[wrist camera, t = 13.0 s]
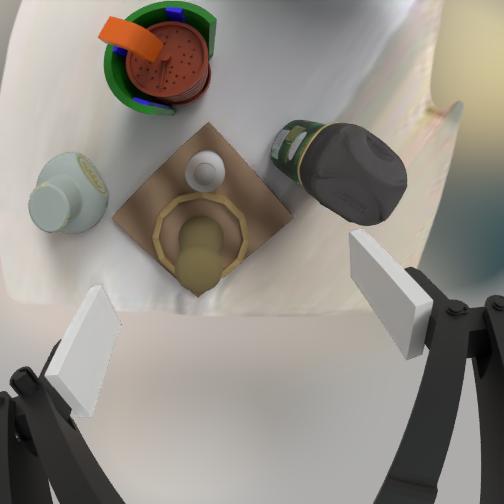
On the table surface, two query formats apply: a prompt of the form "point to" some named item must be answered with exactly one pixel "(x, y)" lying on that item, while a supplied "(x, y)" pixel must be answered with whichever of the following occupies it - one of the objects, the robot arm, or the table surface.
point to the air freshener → (68, 195)
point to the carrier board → (203, 202)
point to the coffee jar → (342, 168)
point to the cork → (199, 254)
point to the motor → (159, 55)
